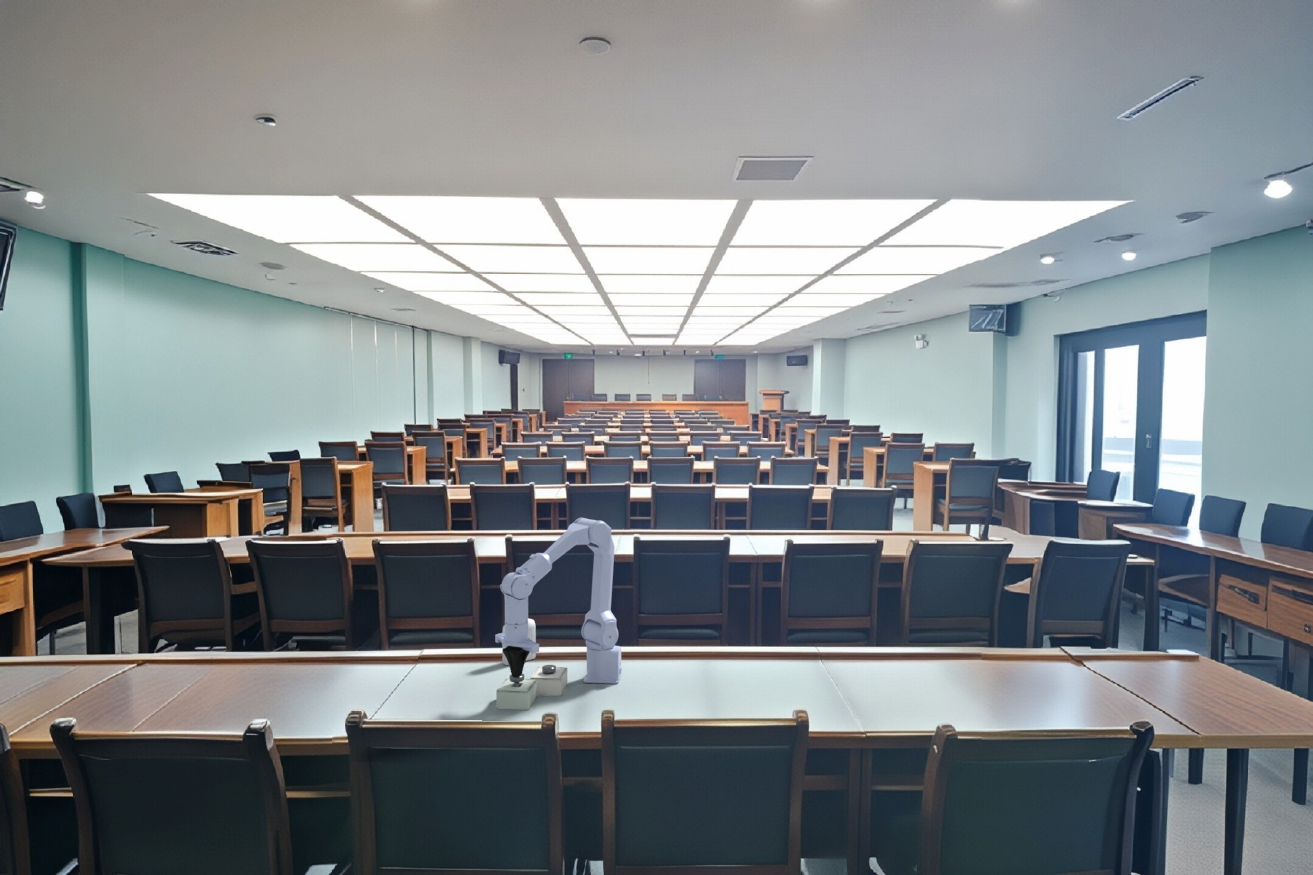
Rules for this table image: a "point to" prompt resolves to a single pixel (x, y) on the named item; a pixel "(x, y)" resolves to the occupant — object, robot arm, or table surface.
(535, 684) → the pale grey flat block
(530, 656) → the white rounded slab
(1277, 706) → the table surface
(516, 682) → the plunger
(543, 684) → the white square block
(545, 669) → the plunger
